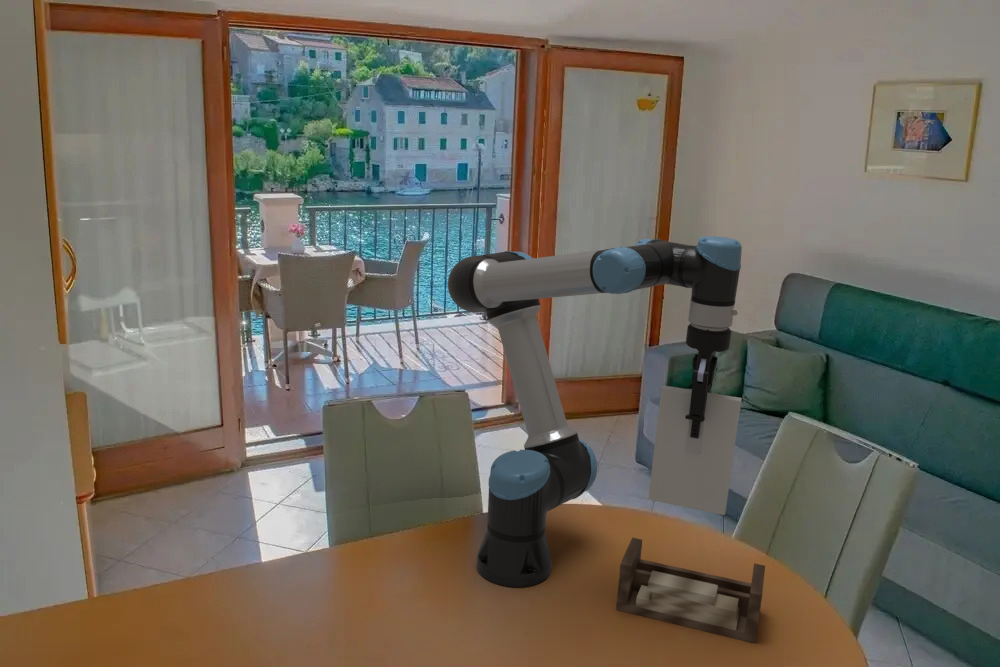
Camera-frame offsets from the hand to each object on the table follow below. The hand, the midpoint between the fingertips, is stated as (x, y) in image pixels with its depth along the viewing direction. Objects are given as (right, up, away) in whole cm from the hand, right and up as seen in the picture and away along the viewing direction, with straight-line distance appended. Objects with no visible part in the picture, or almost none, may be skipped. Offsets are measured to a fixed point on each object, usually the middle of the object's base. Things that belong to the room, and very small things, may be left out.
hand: (693, 450), depth 150 cm
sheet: (-1, -11, +3) cm, 11 cm away
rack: (0, -31, +4) cm, 31 cm away
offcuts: (-1, -30, +1) cm, 30 cm away
